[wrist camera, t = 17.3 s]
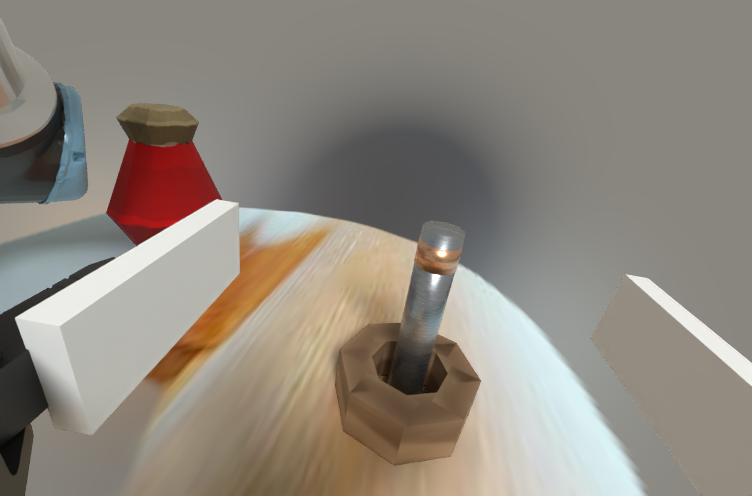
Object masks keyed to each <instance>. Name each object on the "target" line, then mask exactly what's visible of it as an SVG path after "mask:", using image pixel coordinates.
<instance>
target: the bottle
mask: <svg viewBox="0 0 752 496" xmlns="http://www.w3.org/2000/svg"><path fill="white" fill-rule="evenodd" d="M116 118H117V120H118V121H119V123H120V125H121V126H122V128H123V130H124V131H125V133H126V134H127V136H128V138H129V142H128V145H127V148H126V152H125V155H124V158H123V161H122V164H121V167H120V171H119V174H118V177H117V181H116V184H115V187H114V190H113V193H112V196H111V200H110V203H109V206H108V209H107V212H106V213H107V214H108V216H109V217H110V218H111V219H112V220H113V221H114V222H115V223H116V224H117V225H118V226H119V227H120V228H121V229H122V230H123V232H124V233H125V234H126V235H127V236H128V237H129V238H130V239H131V240H132V241H133V242H134V243H135V244H136V245H137V246H138V245H139V244H141V243H143V242H145V241H146V240H148V239H150V238H151V237H153V236H155V235H157V234H158V233H160V232H162V231H163V230H165V229H167V228H168V227H170V226H172V225H174V224H175V223H177V222H179V221H180V220H182V219H184V218H185V217H187V216H189V215H191V214H192V213H194V212H196V211H197V210H199V209H201V208H203V207H204V206H206V205H208V204H209V203H211V202H213V201H214V200H216V199H218V200H222V198H221V196H220V195H219V193H218V191H217V189H216V187H215V185H214V183H213V181H212V179H211V177H210V175H209V173H208V171H207V169H206V167H205V165H204V163H203V161H202V159H201V157H200V155H199V153H198V151H197V149H196V147H195V145H194V143H193V141H192V139H193V137H194V134H195V131H196V128H197V126H198V123H199V122H198V121H197V120H196V119H195V118H194V117H193V116H192V115H191V114H189V113H188V112H187V111H186V110H185V109H184V108H181V107H177V106H171V105H163V104H149V103H140V104H139V103H137V104H131V105H130V106H129V107H128V108H127V109H126V110H124V111H123V112H122V113H121V114H120V115H118V116H117V117H116Z"/></svg>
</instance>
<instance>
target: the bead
mask: <svg viewBox="0 0 752 496" xmlns="http://www.w3.org/2000/svg"><path fill="white" fill-rule="evenodd" d="M400 326H401V323H387V324H368V325H367V326H366V327H365V328H364V329H363V330H361V331H360V332H359V333H358V334H357V335H356V336H355V337H354V338H353V339H352V340H350V341H349V342H348V343H347V344H346V345H345V346H344V347H343V348H342V349H340V354H339V362H338V369H337V376H336V384H335V386H336V392H337V397H338V403H339V408H340V414H341V419H342V425H343V431H344V432H346V433H347V434H349V435H350V436H352V437H353V438H355V439H356V440H358V441H359V442H361V443H362V444H364V445H365V446H366V447H368V448H369V449H371V450H372V451H374V452H375V453H377V454H378V455H380V456H381V457H383V458H384V459H386V460H387V461H389V462H390V463H392V464H393V465H400V464H406V463H412V462H419V461H425V460H431V459H437V458H444V457H450V456H451V454H452V452H453V449H454V447H455V445H456V442H457V440H458V438H459V435H460V433H461V431H462V428H463V426H464V424H465V421H466V419H467V417H468V414H469V412H470V409H471V406H472V404H473V401H474V398H475V396H476V393H477V390H478V388H479V385H480V382H481V380H480V379H479V377H478V375H477V374H476V372H475V371H474V369H473V368H472V366H471V365H470V363H469V362H468V360H467V359H466V357H465V355H464V354H463V352H462V351H461V349H460V348H459V346H458V345H457V343H455V342H453V341H451V340H449V339H447V338H445V337H443V336H440V335H438V334H437V337H436V341H435V344H434V348H433V352H432V355H431V359H430V362H429V366H428V369H427V373H426V376H425V380H424V383H423V385H425V386H427V388H428V390H429V393H426V394H416V395H406V394H404V393H402V392H400V391H399V390H397V389H395V388H393V387H392V386H390V385H388V384H386V383H385V382H383V381H381V380H379V377H378V376H381V375H390V370H391V366H392V361H393V357H394V352H395V348H396V343H397V339H398V334H399V330H400Z"/></svg>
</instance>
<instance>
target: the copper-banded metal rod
mask: <svg viewBox="0 0 752 496" xmlns="http://www.w3.org/2000/svg"><path fill="white" fill-rule="evenodd" d="M465 235H466V234H465V232H464V230H462V229H461V228H459V227H457V226H455V225H453V224H450V223H446V222H440V221H428V222H425V223H424V224H423V227H422V232H421V235H420V237H419V242H418V246H417V251H416V255H415V260H414V262H415V263H414V267H413V272H412V276H411V281H410V285H409V290H408V294H407V299H406V303H405V308H404V312H403V317H402V321H401V326H400V330H399V334H398V339H397V343H396V348H395V352H394V357H393V361H392V366H391V370H390V375H389V379H388V385H390V386H392V387H393V388H395V389H397V390H399V391H400V392H402V393H404V394H406V395H416V394H421V390H422V387H423V383H424V380H425V376H426V373H427V369H428V366H429V362H430V359H431V355H432V352H433V348H434V344H435V341H436V337H437V334H438V330H439V327H440V323H441V320H442V316H443V313H444V309H445V306H446V302H447V298H448V295H449V291H450V288H451V284H452V281H453V277H454V274H455V272H456V269H457V266H458V262H459V258H460V255H461V251H462V248H463V242H464V238H465Z"/></svg>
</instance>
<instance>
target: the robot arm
mask: <svg viewBox="0 0 752 496" xmlns="http://www.w3.org/2000/svg"><path fill="white" fill-rule="evenodd" d="M85 153H86V151H85V136H84V125H83V116H82V106H81V98H80V95H79V93H78V91H76V90H75V89H74V88H73V87H70V86H65V85H62V84H61V83H56V82H52V80H51V79H50V76H49V75H48V73H47V72H46V71H45V69H44V68H43V67H42V66H41V65H40V64H39V63H38V62H36V61H35V60H34V59H33V58H32V57H31V56H29V55H28V54H26V53H25V52H24V51H22V50H20V49H19V48H17V47H15V46H13V44H12V42H11V39H10V37H9V35H8V32H7V30H6V28H5V26H4V24H3V21H2V19H1V17H0V204H4V203H33V202H37V203H39V204H48V203H50V202H56V201H69V200H76V199H79V198H81V197H82V196H84V195H85V193H86V191H87V189H88V178H87V163H86V155H85ZM239 273H240V263H239V204H238V203H233V202H229V201H223V200H218V199H216V200H214V201H213V202H211V203H209V204H208V205H206V206H204V207H203V208H201V209H199V210H197V211H196V212H194V213H192V214H191V215H189V216H187V217H185V218H184V219H182V220H180V221H179V222H177V223H175V224H174V225H172V226H170V227H168V228H167V229H165V230H163V231H162V232H160V233H158V234H157V235H155V236H153V237H151V238H150V239H148V240H146V241H145V242H143V243H141V244H139V245H138V246H136V247H134V248H133V249H131V250H129V251H128V252H126V253H124V254H122V255H121V256H119V257H117V258H114V257H112V258H109V259H106V260H103V261H100V262H97V263H94V264H91V265H88V266H86V267H84V268H83V269H81V270H79V271H77V272H76V273H74V274H72V275H70V276H69V278H68V279H66V278H65V279H63V280H61V281H59V282H58V283H56V284H54V285H52V288H47V289H45V290H43V291H41V292H40V293H38V294H36V295H34V296H33V297H31V298H29V299H27V300H25V301H24V302H22V303H20V304H18V305H16V306H15V307H13V308H11V309H9V310H7V311H6V312H4V313H2V314H0V496H25V491H26V484H27V477H28V470H29V464H30V457H31V450H32V443H33V430H32V426H31V424H30V423H31V422H32V421H33V420H34V419H35V418H36V417H38V416H39V415H40V414H41V413H42V412H43V411H44V410H45V409H46V408H48V411H49V413H50V416H51V419H52V422H53V425H54V427H55V428H56V429H62V430H67V431H73V432H77V433H82V434H88V435H93V434H94V433H95V431H96V430H97V429H98V428H99V427H100V426H101V425H102V424H103V423H104V422H105V421H106V419H107V418H108V417H109V416H110V415H111V414H112V413H113V412H114V411H115V410H116V408H117V407H118V406H119V405H120V404H121V403H122V402H123V401H124V400H125V398H127V396H128V395H129V394H130V393H131V392H132V391H133V390H134V389H135V388H136V387H137V385H138V384H139V383H140V382H141V381H142V380H143V379H144V378H145V377H146V376H147V374H148V373H149V372H150V371H151V370H152V369H153V368H154V367H155V366H156V365H157V363H158V362H159V361H160V360H161V359H162V358H163V357H164V356H165V355H166V354H167V353H168V351H169V350H170V349H171V348H172V347H173V346H174V345H175V344H176V343H177V342H178V340H179V339H180V338H181V337H182V336H183V335H184V334H185V333H186V332H187V331H188V329H189V328H190V327H191V326H192V325H193V324H194V323H195V322H196V321H197V320H198V318H199V317H200V316H201V315H202V314H203V313H204V312H205V311H206V310H207V309H208V307H209V306H210V305H211V304H212V303H213V302H214V301H215V300H216V299H217V298H218V297H219V295H220V294H221V293H222V292H223V291H224V290H225V289H226V288H227V287H228V286H229V284H230V283H231V282H232V281H233V280H234V279H235V278H236V277H237V276H238V275H239ZM590 339H591V341H592V342H593V343H594V345H595V346H596V348H597V349H598V351H599V352H600V354H601V355H602V356H603V358H604V359H605V361H606V362H607V364H608V365H609V366H610V368H611V369H612V371H613V372H614V374H615V375H616V376H617V378H618V379H619V381H620V382H621V383H622V385H623V386H624V388H625V389H626V391H627V392H628V393H629V395H630V396H631V397H632V399H633V400H634V402H635V403H636V405H637V406H638V407H639V408H640V410H641V412H642V413H643V415H644V416H645V417H646V419H647V420H648V421H649V423H650V424H651V426H652V427H653V429H654V430H655V432H656V433H657V434H658V436H659V437H660V439H661V440H662V442H663V443H664V444H665V446H666V447H667V449H668V450H669V451H670V453H671V454H672V456H673V457H674V458H675V460H676V461H677V463H678V464H679V466H680V467H681V468H682V470H683V471H684V473H685V474H686V476H687V477H688V478H689V480H690V481H691V482H692V484H693V485H694V487H695V488H696V490H697V491H698V493H699V494H700V495H701V496H752V363H751V362H750V361H748V360H747V359H746V358H745V357H744V356H742V355H741V354H740V353H739V352H737V351H736V350H735V349H734V348H732V347H731V346H730V345H729V344H727V343H726V342H725V341H724V340H723V339H721V338H720V337H719V336H718V335H716V334H715V333H714V332H713V331H712V330H710V329H709V328H708V327H707V326H706V325H704V324H703V323H702V322H701V321H699V320H698V319H697V318H696V317H694V316H693V315H692V314H691V313H689V312H688V311H687V310H686V309H685V308H683V307H682V306H681V305H680V304H679V303H677V302H676V301H675V300H674V299H672V298H671V297H670V296H669V295H668V294H666V293H665V292H664V291H663V290H661V289H660V288H659V287H658V286H657V285H655V284H654V283H653V282H652V281H650V280H649V279H648V278H643V277H637V276H631V275H626V274H625V275H624V277H623V279H622V281H621V283H620V285H619V286H618V288H617V290H616V292H615V293H614V295H613V297H612V299H611V301H610V303H609V304H608V306H607V308H606V310H605V312H604V314H603V315H602V317H601V319H600V321H599V323H598V325H597V327H596V329H595V330H594V332H593V334H592V336H591V338H590Z"/></svg>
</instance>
